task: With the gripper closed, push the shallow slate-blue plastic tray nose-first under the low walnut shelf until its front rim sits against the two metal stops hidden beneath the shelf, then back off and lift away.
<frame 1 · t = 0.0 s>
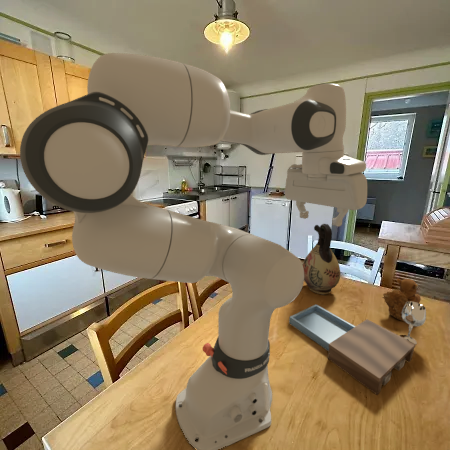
hand: (319, 221, 60), 39 cm above the table, tool pointing down, fingers open, 8 cm apart
wineglass: (407, 340, 75), on the table
stuffed squirrel: (400, 315, 87), on the table
tray: (325, 330, 78), on the table
ceramic jug: (319, 290, 104), on the table
shelf: (369, 359, 67), on the table
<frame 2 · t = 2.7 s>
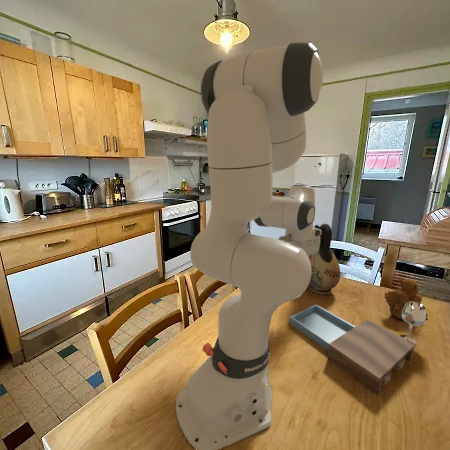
hand: (295, 269, 86), 16 cm above the table, tool pointing down, fingers closed
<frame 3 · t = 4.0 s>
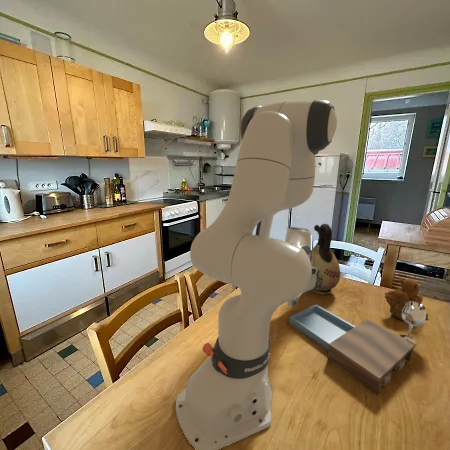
hand: (292, 305, 89), 2 cm above the table, tool pointing down, fingers closed
nothing on the table moved.
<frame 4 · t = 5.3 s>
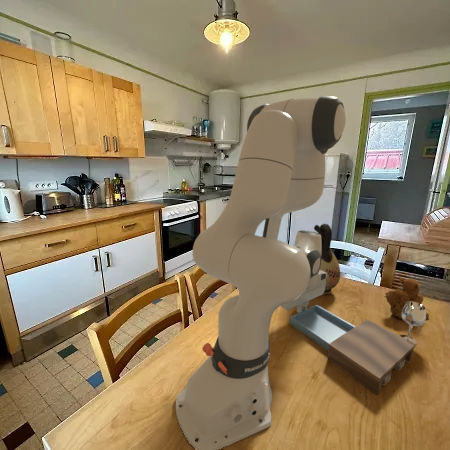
hand: (301, 311, 86), 2 cm above the table, tool pointing down, fingers closed, pressing on tray
tray: (325, 330, 78), on the table, touching gripper
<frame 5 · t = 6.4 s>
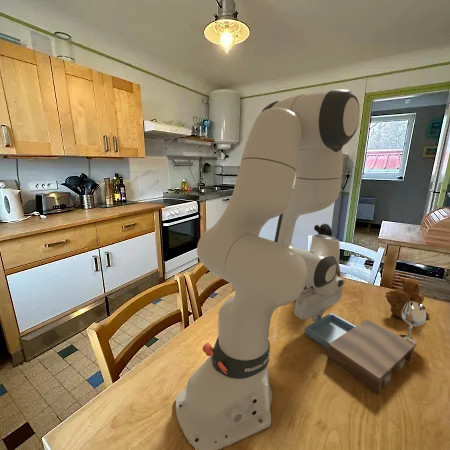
hand: (316, 320, 81), 2 cm above the table, tool pointing down, fingers closed, pressing on tray
tray: (343, 342, 73), on the table, touching gripper
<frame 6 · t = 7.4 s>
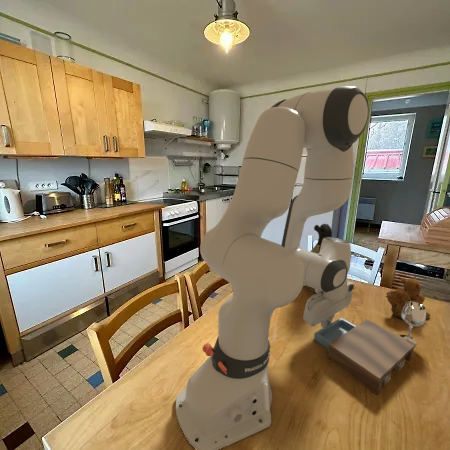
hand: (325, 325, 78), 2 cm above the table, tool pointing down, fingers closed, pressing on tray
tray: (355, 349, 71), on the table, touching gripper, shelf
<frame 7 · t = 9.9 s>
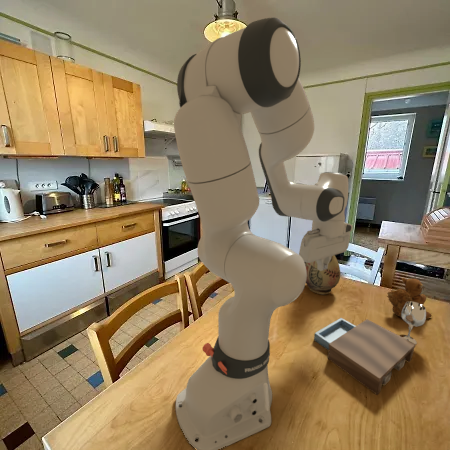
hand: (322, 269, 76), 20 cm above the table, tool pointing down, fingers closed
tray: (355, 349, 71), on the table
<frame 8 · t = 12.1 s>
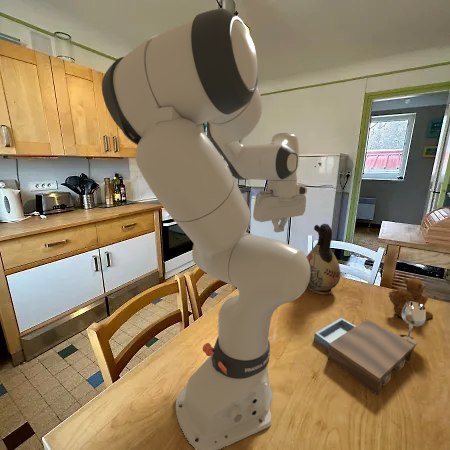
hand: (278, 231, 79), 31 cm above the table, tool pointing down, fingers closed
at the end: tray 0.4 cm from the target spot on the shelf, point 0.0 cm above the shelf's base; tray tilted 0° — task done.
